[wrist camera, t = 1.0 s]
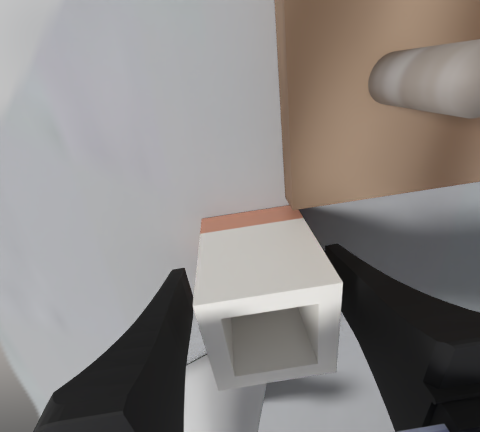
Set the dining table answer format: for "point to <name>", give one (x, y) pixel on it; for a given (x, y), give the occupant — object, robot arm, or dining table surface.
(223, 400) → the flask
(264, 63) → the dining table surface
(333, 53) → the pin board
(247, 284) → the sleeve
